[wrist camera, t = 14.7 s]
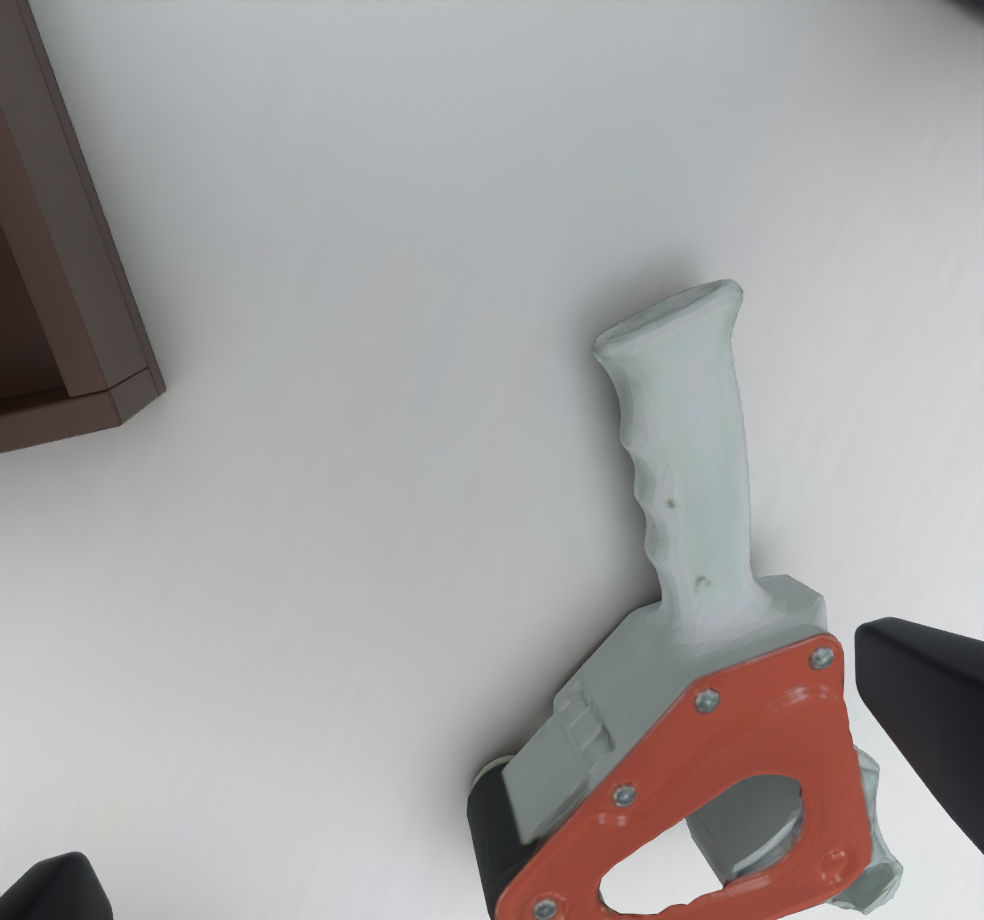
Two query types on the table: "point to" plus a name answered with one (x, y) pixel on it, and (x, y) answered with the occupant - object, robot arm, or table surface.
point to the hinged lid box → (57, 268)
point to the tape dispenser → (691, 684)
